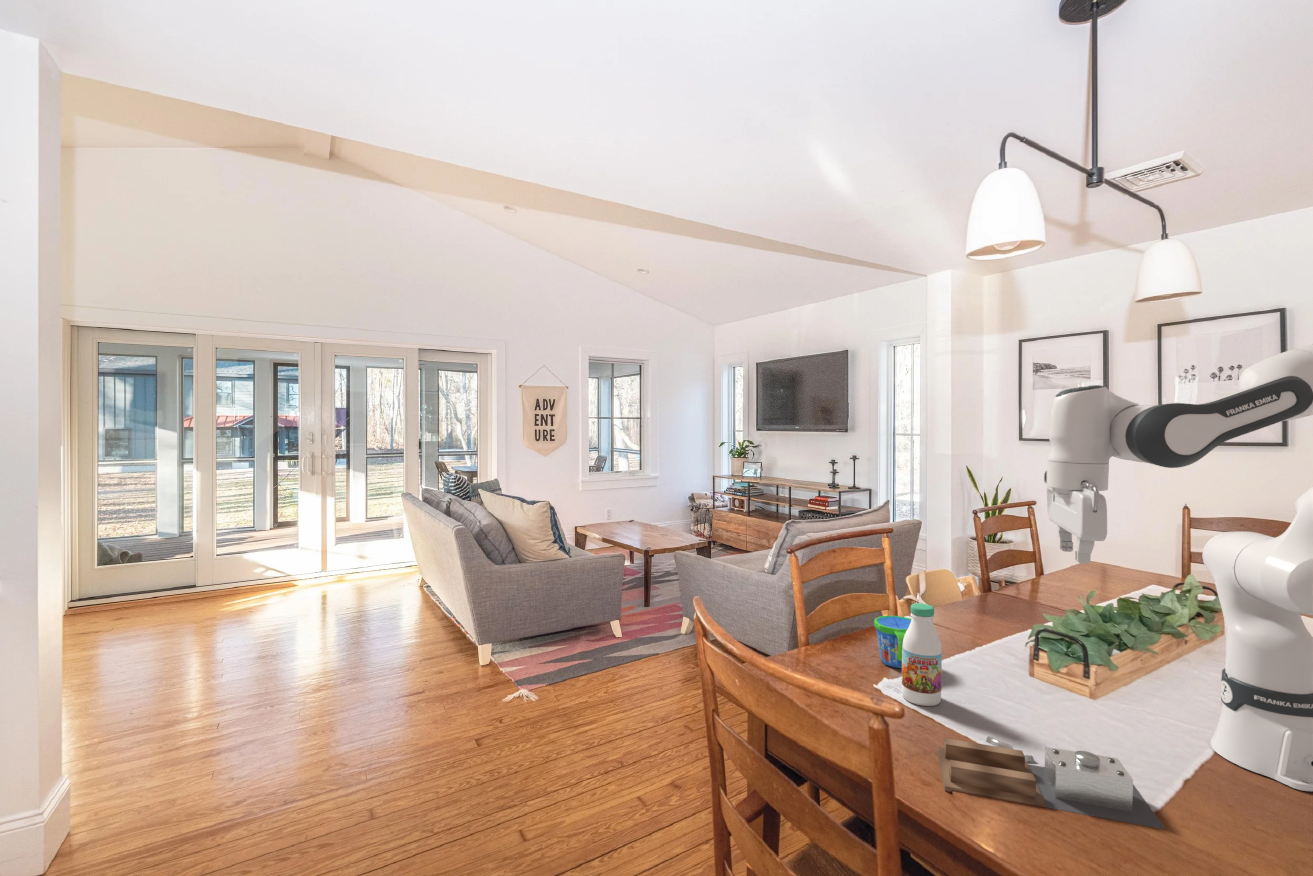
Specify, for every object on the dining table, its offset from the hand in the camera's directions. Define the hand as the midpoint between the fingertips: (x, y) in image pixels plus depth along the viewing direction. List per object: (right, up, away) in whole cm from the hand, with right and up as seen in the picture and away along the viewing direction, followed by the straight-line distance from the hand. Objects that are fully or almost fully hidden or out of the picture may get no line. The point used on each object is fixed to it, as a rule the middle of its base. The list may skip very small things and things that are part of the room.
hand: (1073, 556), depth 106 cm
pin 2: (-10, -36, -1) cm, 37 cm away
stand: (-19, -36, -6) cm, 41 cm away
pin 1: (-12, -34, +3) cm, 36 cm away
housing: (-5, -36, -11) cm, 37 cm away
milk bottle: (-17, -35, +22) cm, 45 cm away
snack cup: (-15, -34, +40) cm, 55 cm away
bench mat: (-5, -36, -11) cm, 38 cm away
